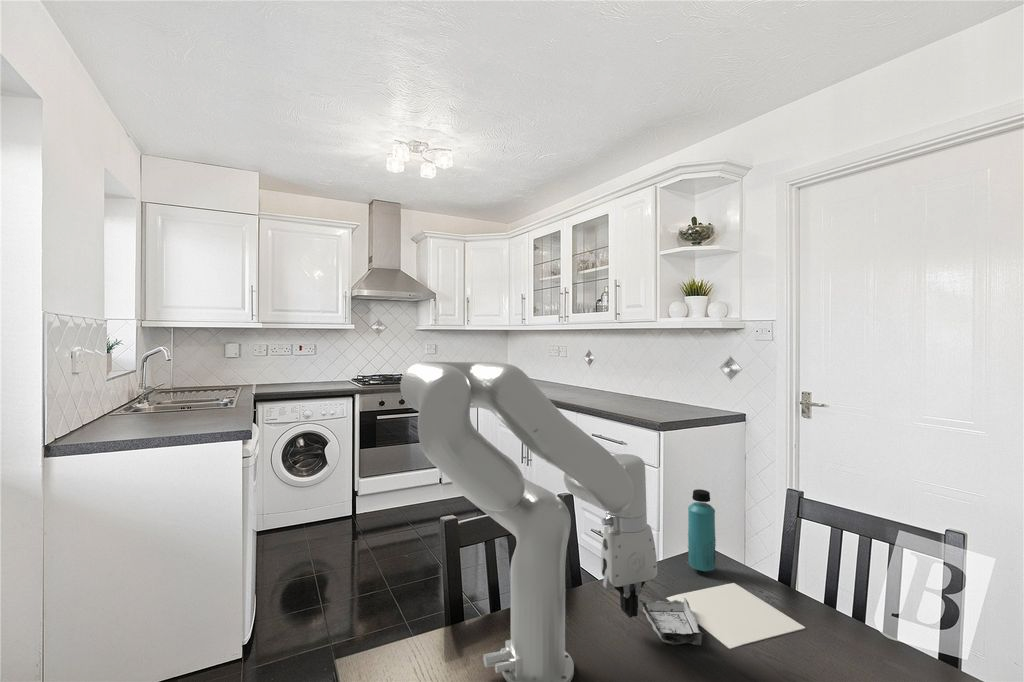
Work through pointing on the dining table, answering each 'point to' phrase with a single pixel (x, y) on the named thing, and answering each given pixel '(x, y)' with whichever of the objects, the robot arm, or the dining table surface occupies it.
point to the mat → (736, 615)
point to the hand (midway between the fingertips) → (629, 613)
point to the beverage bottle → (701, 532)
